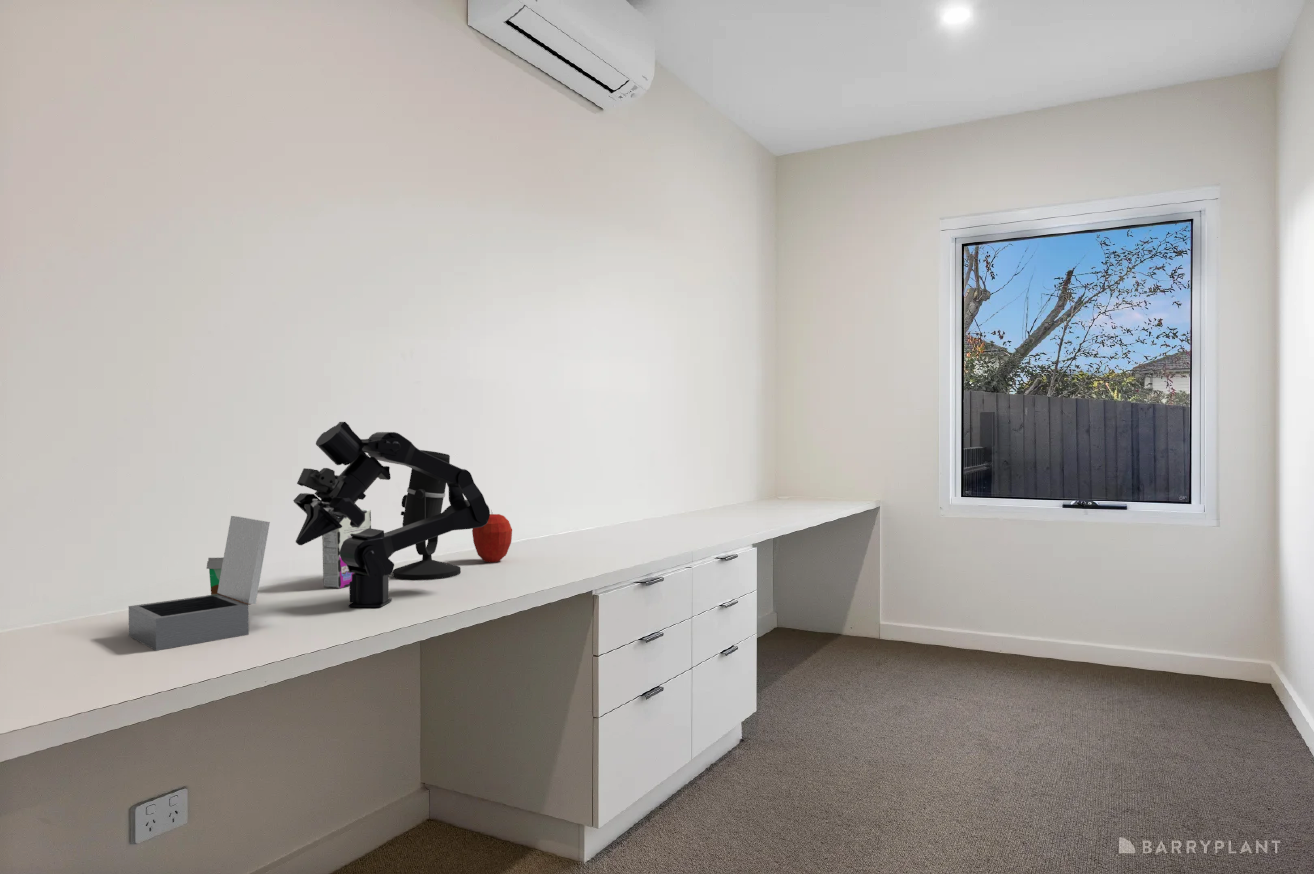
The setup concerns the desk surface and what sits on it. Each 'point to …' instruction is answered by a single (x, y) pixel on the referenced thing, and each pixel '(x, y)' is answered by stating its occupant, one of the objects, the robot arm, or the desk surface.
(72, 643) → the desk surface
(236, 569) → the lid
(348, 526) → the candy bar box
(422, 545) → the microphone
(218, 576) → the food container
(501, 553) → the apple
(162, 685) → the desk surface
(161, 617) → the grey storage bin
